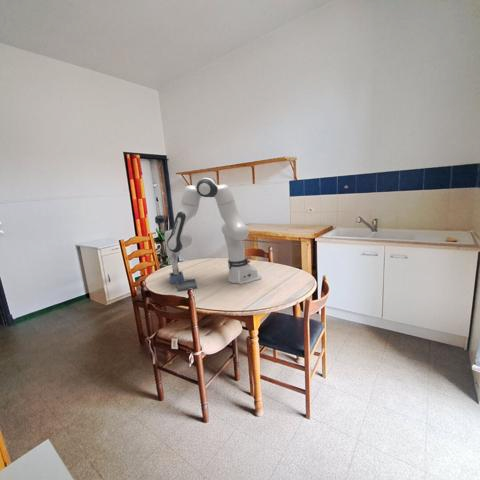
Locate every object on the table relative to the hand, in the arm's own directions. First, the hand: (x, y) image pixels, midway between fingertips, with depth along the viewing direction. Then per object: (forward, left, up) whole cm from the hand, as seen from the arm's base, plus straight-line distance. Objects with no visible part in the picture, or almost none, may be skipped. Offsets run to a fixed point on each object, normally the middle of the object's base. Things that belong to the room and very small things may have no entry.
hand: (175, 271), depth 180 cm
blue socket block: (0, 0, -7) cm, 7 cm away
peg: (0, 0, -7) cm, 7 cm away
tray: (-6, +14, -7) cm, 17 cm away
